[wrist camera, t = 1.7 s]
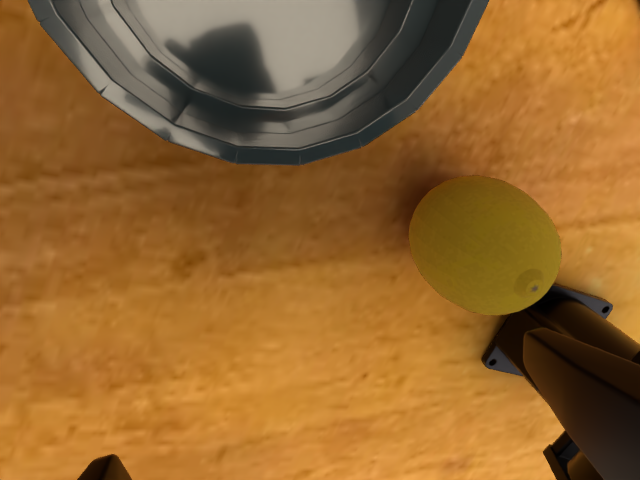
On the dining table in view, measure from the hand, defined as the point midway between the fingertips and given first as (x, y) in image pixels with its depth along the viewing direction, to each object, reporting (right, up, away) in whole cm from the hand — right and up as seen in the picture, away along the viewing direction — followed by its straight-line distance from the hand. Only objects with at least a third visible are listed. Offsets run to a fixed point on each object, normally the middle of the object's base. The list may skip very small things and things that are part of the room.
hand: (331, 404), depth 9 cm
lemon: (+6, +5, +13) cm, 15 cm away
